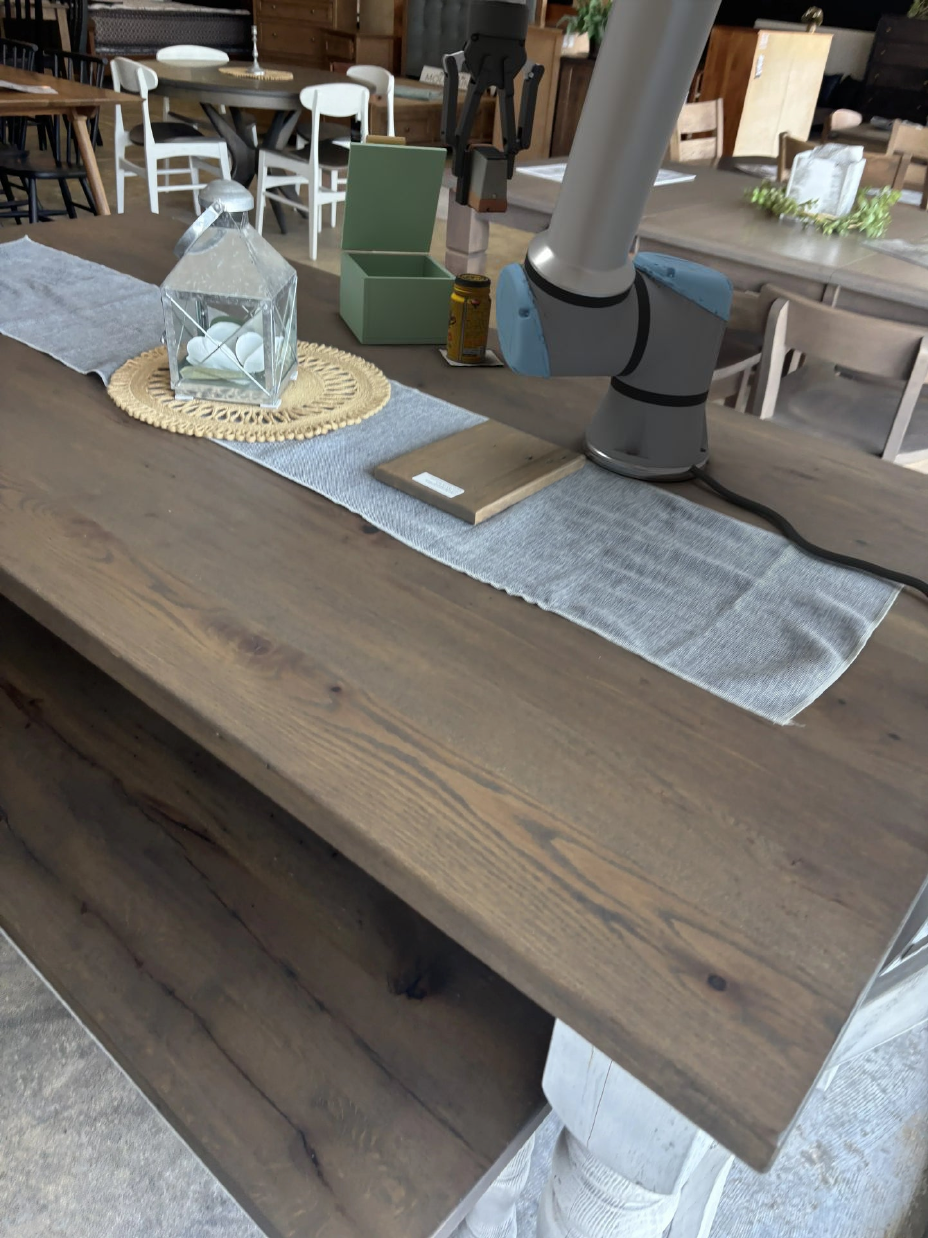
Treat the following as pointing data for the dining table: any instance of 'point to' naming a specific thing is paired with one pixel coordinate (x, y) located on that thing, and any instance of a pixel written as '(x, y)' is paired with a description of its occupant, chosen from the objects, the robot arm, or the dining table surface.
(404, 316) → the chest
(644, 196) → the robot arm
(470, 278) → the condiment
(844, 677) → the dining table surface
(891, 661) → the dining table surface
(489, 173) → the electronic device
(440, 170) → the lid
